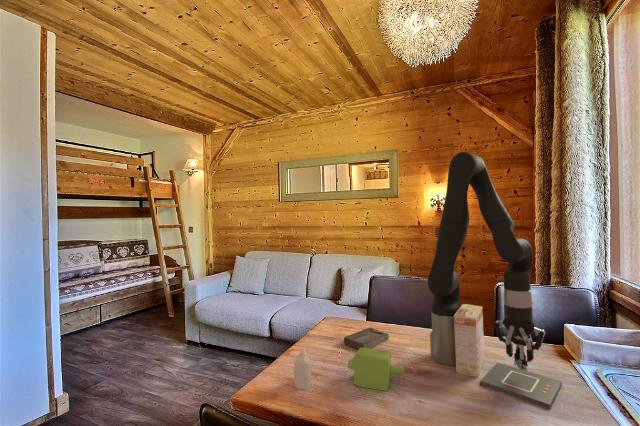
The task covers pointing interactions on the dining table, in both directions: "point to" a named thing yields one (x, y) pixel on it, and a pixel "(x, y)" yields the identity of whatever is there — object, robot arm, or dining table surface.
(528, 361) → the robot arm
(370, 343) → the box
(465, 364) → the coffeecake box
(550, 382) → the socket plate
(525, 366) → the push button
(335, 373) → the dining table surface
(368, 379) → the gearbox
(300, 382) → the squeeze bottle
